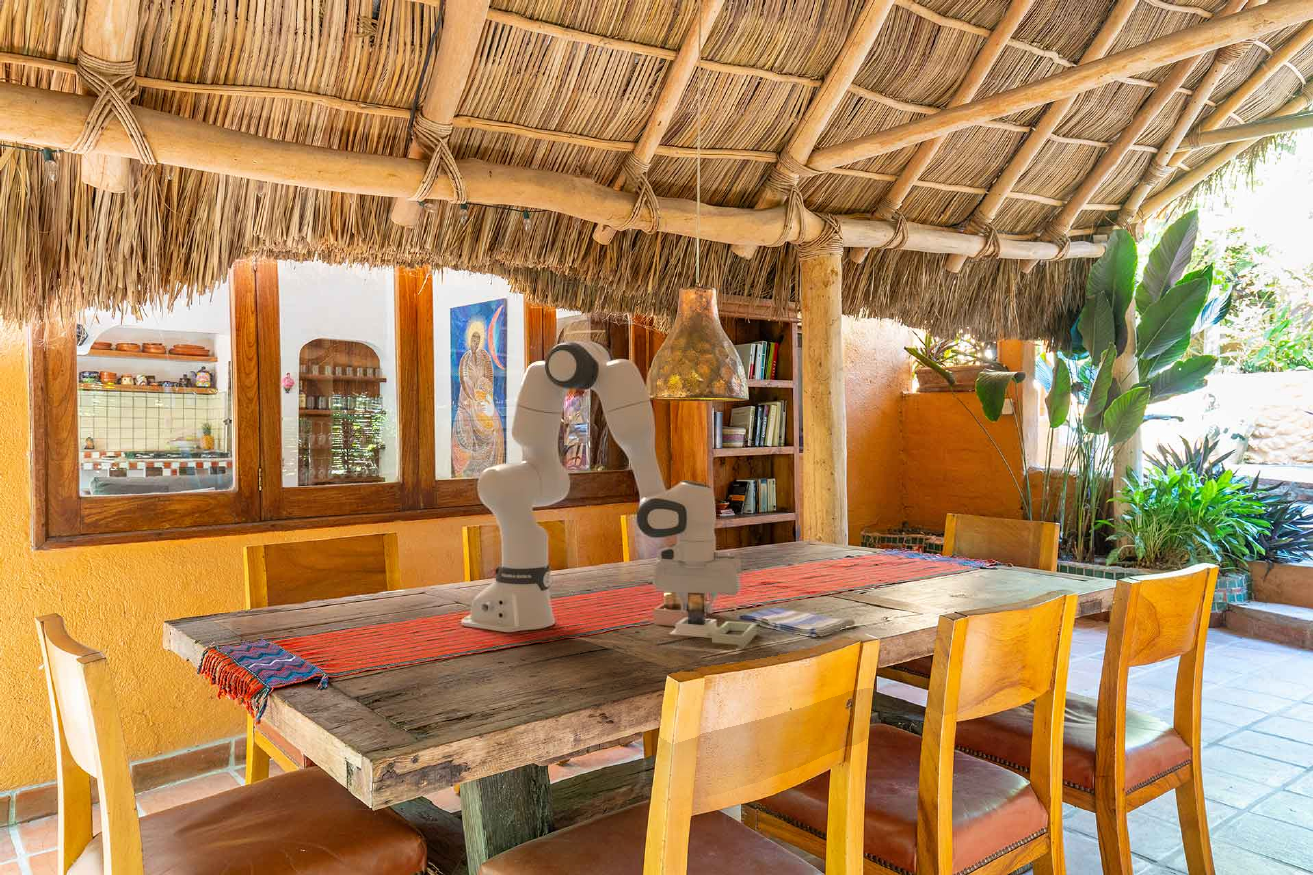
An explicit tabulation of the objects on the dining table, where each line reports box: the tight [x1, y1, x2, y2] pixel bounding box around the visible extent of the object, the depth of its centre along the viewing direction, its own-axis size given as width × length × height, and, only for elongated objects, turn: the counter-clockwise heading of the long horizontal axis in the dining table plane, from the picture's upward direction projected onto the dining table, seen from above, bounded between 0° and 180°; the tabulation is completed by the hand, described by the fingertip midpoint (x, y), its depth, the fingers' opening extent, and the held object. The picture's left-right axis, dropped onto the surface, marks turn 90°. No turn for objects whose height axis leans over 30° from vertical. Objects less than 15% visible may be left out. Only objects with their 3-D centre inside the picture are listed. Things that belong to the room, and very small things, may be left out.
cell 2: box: [688, 593, 706, 625], centre depth 198 cm, size 4×4×8 cm
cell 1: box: [663, 591, 681, 610], centre depth 208 cm, size 4×4×8 cm
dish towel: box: [738, 607, 856, 638], centre depth 209 cm, size 17×24×3 cm
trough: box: [711, 620, 757, 649], centre depth 194 cm, size 7×13×3 cm, turn 161°
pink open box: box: [653, 602, 688, 627], centre depth 208 cm, size 7×7×4 cm
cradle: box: [669, 617, 720, 639], centre depth 199 cm, size 10×9×3 cm
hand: (696, 612), depth 198 cm, fingers closed on cell 2, 4 cm apart
